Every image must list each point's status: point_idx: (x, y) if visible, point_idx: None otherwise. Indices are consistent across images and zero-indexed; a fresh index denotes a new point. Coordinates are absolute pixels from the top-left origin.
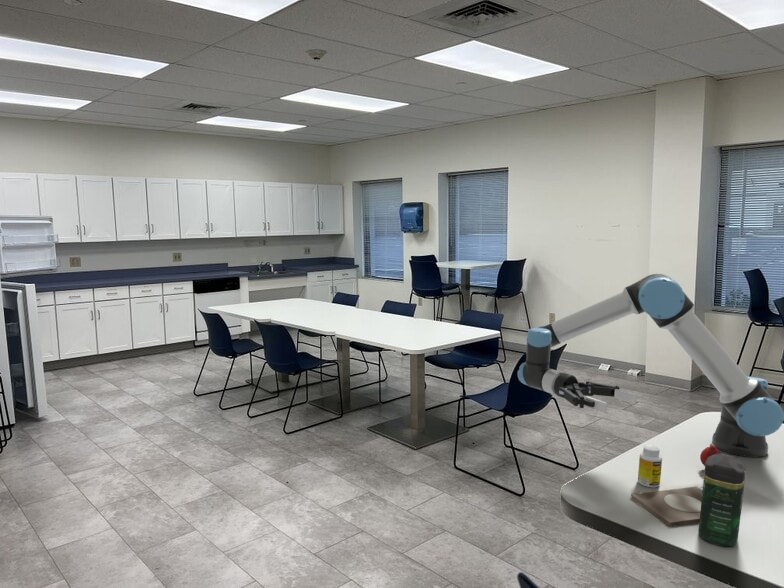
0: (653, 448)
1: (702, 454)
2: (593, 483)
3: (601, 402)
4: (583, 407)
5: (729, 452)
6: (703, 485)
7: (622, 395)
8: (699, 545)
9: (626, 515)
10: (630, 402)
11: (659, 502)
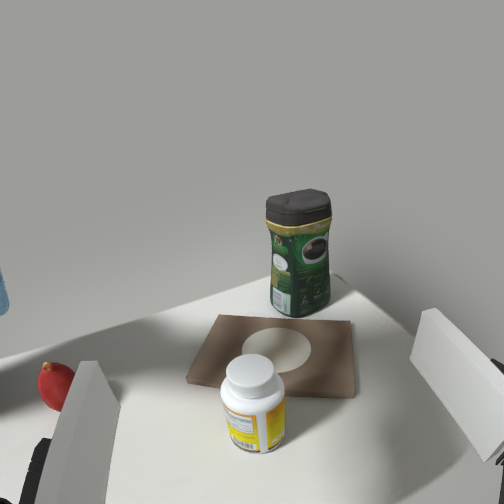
0: (247, 365)
1: (66, 391)
2: (400, 465)
3: (450, 326)
4: (501, 454)
5: None
6: (326, 238)
7: (88, 461)
8: (340, 297)
9: (399, 356)
10: (114, 424)
11: (319, 360)
